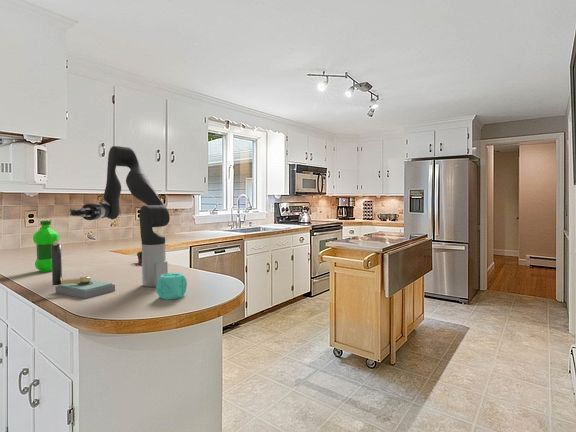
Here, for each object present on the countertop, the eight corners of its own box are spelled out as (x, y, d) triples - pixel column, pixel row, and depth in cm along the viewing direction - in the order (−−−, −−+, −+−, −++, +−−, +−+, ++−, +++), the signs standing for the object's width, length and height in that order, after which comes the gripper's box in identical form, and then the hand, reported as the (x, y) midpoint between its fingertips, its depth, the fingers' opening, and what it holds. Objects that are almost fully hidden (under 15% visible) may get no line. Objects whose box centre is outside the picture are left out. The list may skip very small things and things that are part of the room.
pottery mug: (159, 262, 197) (157, 251, 193) (147, 272, 190) (144, 261, 185) (144, 256, 201) (141, 245, 197) (131, 265, 194) (128, 254, 190)
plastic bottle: (29, 272, 169) (27, 221, 168) (49, 268, 179) (48, 220, 178) (44, 273, 166) (42, 221, 165) (64, 269, 176) (63, 220, 175)
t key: (90, 280, 137) (89, 239, 136) (90, 283, 131) (89, 240, 131) (53, 284, 131) (52, 241, 130) (51, 287, 126) (50, 242, 125)
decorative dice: (176, 300, 122) (176, 278, 122) (156, 299, 123) (155, 277, 123) (187, 294, 130) (186, 273, 130) (167, 293, 131) (167, 272, 131)
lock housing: (115, 290, 135) (114, 282, 135) (85, 298, 124) (84, 289, 124) (85, 285, 143) (85, 277, 143) (55, 292, 132) (55, 284, 132)
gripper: (78, 203, 160) (57, 204, 142) (108, 203, 161) (90, 204, 144) (78, 219, 160) (57, 222, 143) (108, 219, 161) (91, 222, 144)
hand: (74, 213), depth 143 cm, fingers closed
